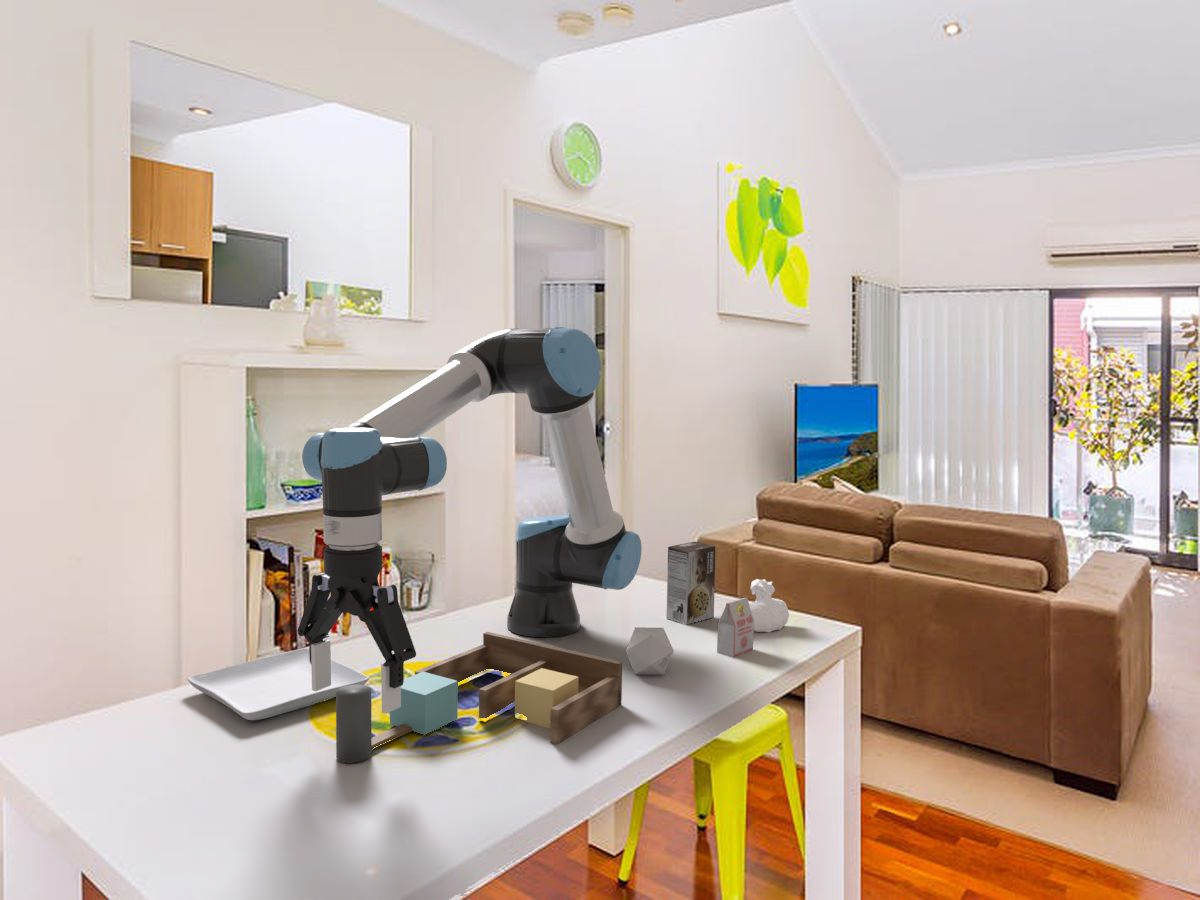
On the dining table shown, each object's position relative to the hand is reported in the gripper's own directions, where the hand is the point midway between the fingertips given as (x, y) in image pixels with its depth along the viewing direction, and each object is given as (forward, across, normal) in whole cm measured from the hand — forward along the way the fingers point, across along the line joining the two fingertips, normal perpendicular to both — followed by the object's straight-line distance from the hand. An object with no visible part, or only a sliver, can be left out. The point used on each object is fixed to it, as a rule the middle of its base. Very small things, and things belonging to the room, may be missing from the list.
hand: (355, 698), depth 116 cm
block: (+9, +13, +26) cm, 30 cm away
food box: (+10, +8, +88) cm, 88 cm away
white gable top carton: (+9, +25, +72) cm, 77 cm away
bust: (+10, +24, +90) cm, 94 cm away
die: (+9, +17, +52) cm, 56 cm away
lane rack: (+8, +7, +28) cm, 30 cm away
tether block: (+8, 0, +7) cm, 11 cm away
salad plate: (+9, -27, +9) cm, 30 cm away
